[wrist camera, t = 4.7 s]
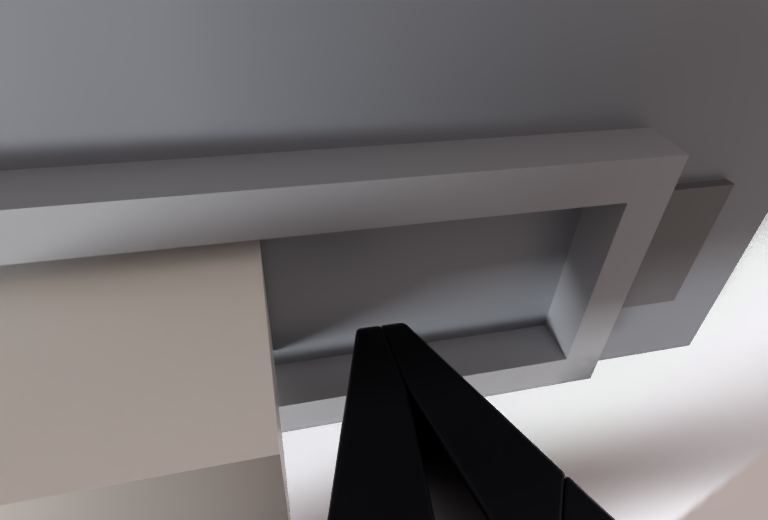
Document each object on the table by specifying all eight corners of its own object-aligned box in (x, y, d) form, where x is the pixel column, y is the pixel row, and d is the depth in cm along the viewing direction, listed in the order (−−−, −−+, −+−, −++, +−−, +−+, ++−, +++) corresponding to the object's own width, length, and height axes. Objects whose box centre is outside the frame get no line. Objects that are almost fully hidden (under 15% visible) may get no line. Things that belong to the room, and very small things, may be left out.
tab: (273, 355, 10) (297, 577, 7) (41, 389, 9) (-42, 657, 6) (257, 226, 8) (279, 453, 5) (-33, 254, 8) (-204, 542, 4)
